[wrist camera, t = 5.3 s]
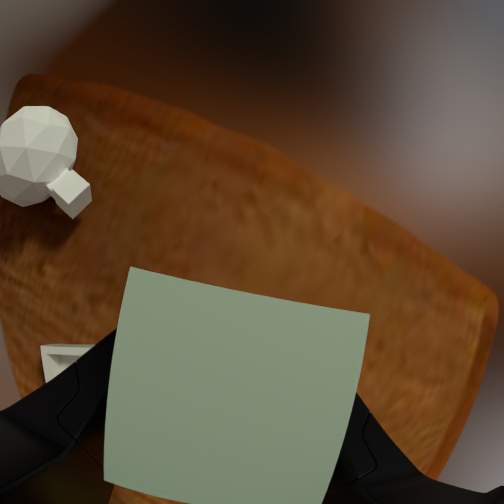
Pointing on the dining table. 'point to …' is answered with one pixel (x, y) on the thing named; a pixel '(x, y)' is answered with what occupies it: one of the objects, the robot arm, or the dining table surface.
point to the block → (228, 393)
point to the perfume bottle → (41, 160)
